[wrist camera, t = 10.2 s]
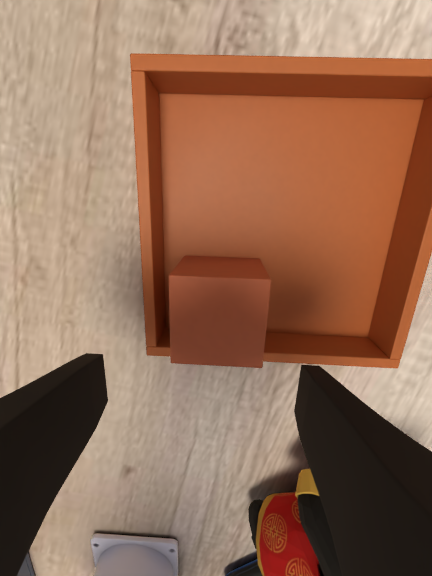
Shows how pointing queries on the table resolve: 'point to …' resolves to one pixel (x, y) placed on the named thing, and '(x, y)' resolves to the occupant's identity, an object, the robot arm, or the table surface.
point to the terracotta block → (218, 311)
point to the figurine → (293, 533)
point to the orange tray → (290, 192)
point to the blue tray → (26, 568)
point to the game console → (247, 570)
